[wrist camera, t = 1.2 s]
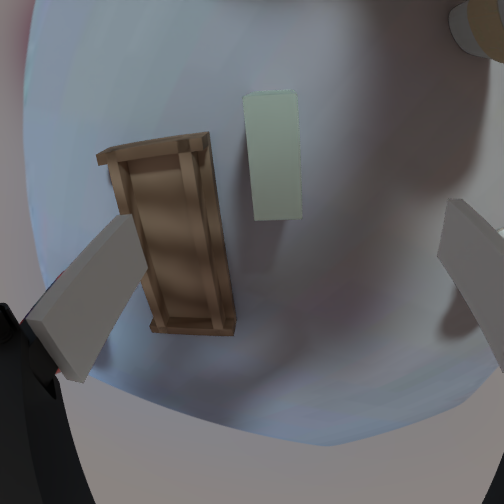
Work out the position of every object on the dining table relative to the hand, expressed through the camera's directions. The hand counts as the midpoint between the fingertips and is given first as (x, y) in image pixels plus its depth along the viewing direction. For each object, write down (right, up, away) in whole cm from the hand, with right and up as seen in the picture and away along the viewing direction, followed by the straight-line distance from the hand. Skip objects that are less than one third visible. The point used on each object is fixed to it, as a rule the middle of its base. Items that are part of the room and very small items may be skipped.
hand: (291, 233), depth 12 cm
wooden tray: (-10, 0, +23) cm, 25 cm away
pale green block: (+1, +10, +16) cm, 19 cm away
